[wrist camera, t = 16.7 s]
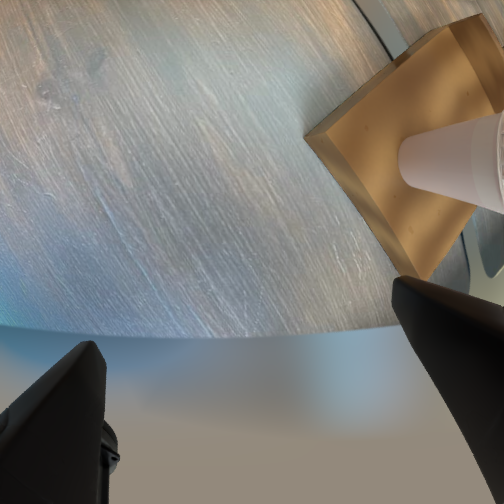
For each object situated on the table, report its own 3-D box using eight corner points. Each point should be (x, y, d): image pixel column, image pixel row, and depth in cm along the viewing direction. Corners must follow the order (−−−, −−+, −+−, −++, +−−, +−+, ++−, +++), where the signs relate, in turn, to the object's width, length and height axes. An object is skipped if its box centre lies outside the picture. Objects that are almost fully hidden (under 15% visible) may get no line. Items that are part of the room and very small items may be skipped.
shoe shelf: (490, 142, 26) (540, 143, 19) (399, 275, 25) (461, 300, 18) (430, 30, 21) (482, 12, 14) (302, 138, 20) (365, 122, 13)
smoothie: (440, 209, 21) (604, 245, 8) (380, 204, 19) (589, 246, 6) (442, 128, 20) (604, 126, 6) (382, 108, 18) (583, 79, 5)
